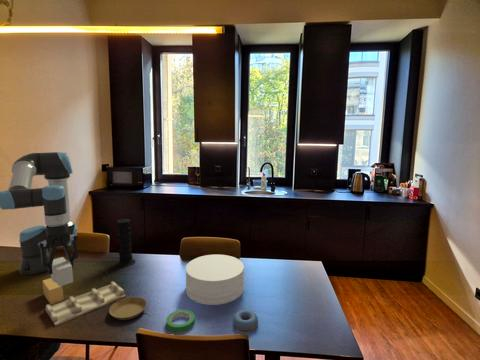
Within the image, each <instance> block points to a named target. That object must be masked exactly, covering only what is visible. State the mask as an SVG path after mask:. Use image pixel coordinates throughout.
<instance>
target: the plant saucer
mask: <svg viewBox="0 0 480 360" xmlns="http://www.w3.org/2000/svg"><path fill="white" fill-rule="evenodd" d="M147 305H148V303H147V300H145V298H142V297H139V296H131V297H125V298H122V299H120V300H117V301H115V302H113V304H112V305H110V307H109V310H108V311H109V312H108V313H109V315H110V316H112V317H113V318H115V319H117V320H120V321H122V320H123V321H127V320H131V319H134V318H136V317H138V316H139V315H141V314H142V313H143V312H144V311H145V309H146V307H147Z"/></svg>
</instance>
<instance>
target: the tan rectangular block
mask: <svg viewBox="0 0 480 360" xmlns="http://www.w3.org/2000/svg"><path fill="white" fill-rule="evenodd" d="M63 287H64V286H60V287H59V286H58V284H57V283H56V282H53V281H52V277H49V278H47V279H43V280H42V288H43V290H42V291H43V295H44V297H45V298H46V300H47V301H48V302H49V303H48V304H50V306H52V305H55V304H58V303H60V302H63V301H65V300H64V297H65V296H64V289H63Z"/></svg>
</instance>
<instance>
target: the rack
mask: <svg viewBox="0 0 480 360" xmlns="http://www.w3.org/2000/svg"><path fill="white" fill-rule="evenodd" d="M125 298H127V297H126V294H125V290H124V289H123V288H122V287H121V286H120V285H119V284H118V283H116V282H115V281H114V280H112V281H110V284H107V285H104V286H102V287H99V288H97V289H96V287H93V288H91V291H88V292H86V293H83V294H80V295H77V296H75V297H74V296H73V295H71V296H69V297H68V299H67V300H63V301H60V302H57V303H55V304H52V305H51V304H50V303H48V304H46V305H45V311H46V313H47V314H48V316H49V318H50V319H51V322H52V323H53V325H54V327H56V326H59V325H61V324H64V323H67V322H69V321H71V320H73V319H77V318H78V317H80V316H83V315H86V314H88V313H90V312H93V311H95V310H97V309H100V308H102V307H105V306H107V305H108V306H109V305H111V304H112V303H113V304H114V303H116V302H117V301H119V300H122V299H125Z"/></svg>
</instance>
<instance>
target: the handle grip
mask: <svg viewBox="0 0 480 360" xmlns="http://www.w3.org/2000/svg"><path fill="white" fill-rule="evenodd" d="M116 223H117V237H118V239H117V240H118V253H119V255H118V257H119V261H117V263H116V266H117V265H118V267H120V266H122V267H124V266H126V267H129V265H130V266H133V265H134V264H135V263H136V260H135V259H134V258H133V251H132V234H131V230H132V229H131V219H128V218H123V219H119V220H117V221H116ZM124 268H125V267H124Z"/></svg>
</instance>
